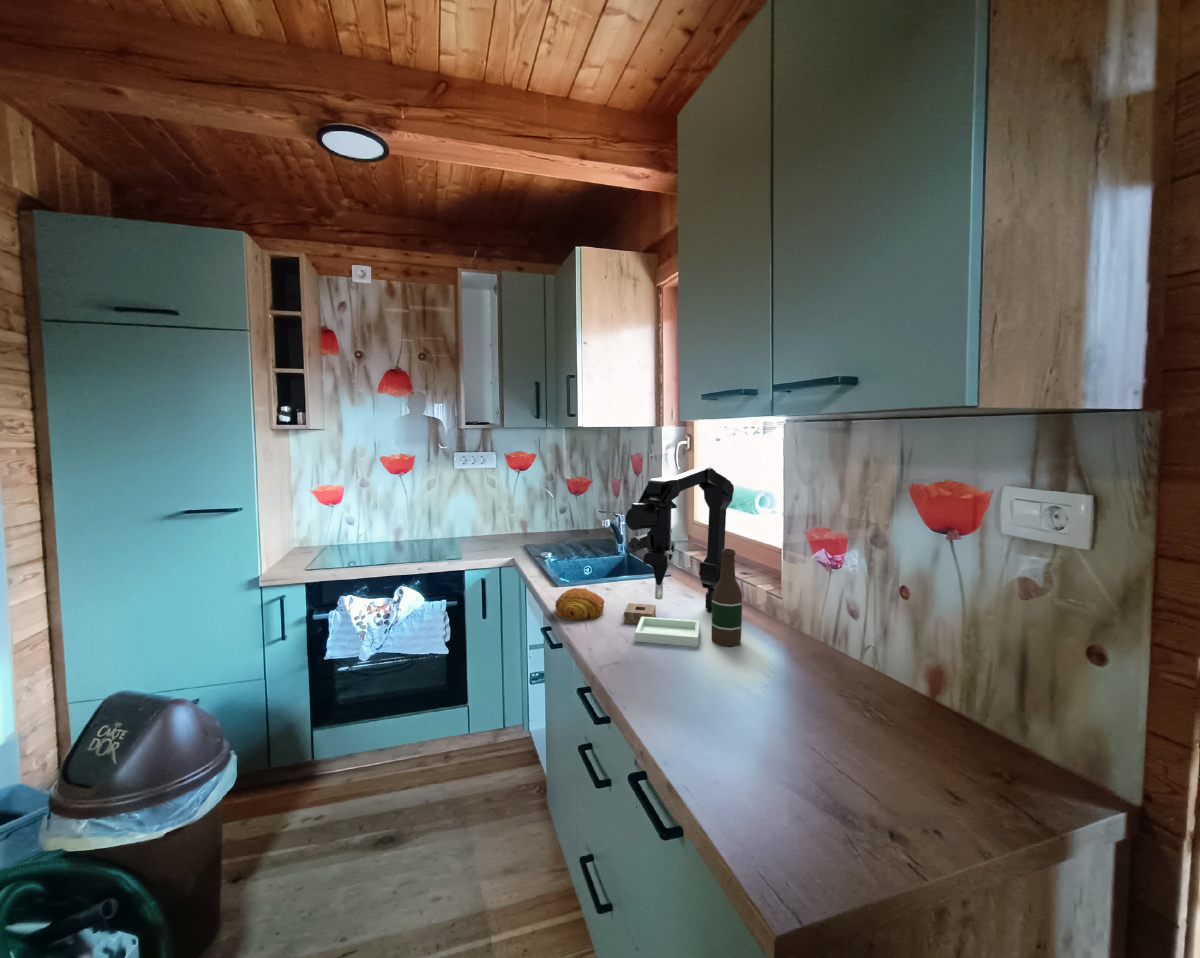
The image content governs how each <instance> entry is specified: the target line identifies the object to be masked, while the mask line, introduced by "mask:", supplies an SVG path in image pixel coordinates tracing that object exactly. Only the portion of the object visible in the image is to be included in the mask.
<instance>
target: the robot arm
mask: <svg viewBox="0 0 1200 958" xmlns="http://www.w3.org/2000/svg"><path fill="white" fill-rule="evenodd" d="M696 486H698V487H699V488H700V490H702V492H703V496H704V497H703V499H704V501H705V503H706V505H707V508H708V527H707V549H706V557H705V559H703V561H700V563H699V573H698V575H699V579H700V581H701V586H702V589H707V591H706V592H705V608H706V611H707V612H708V613H709V612H710V613H712V596H713V591H714V589H715V586H716V584H717V583H718V582H719V579H720V573H721V561H722V555H721V551H722V550H723V549H725V544H726V525H727V524H726V523H727V522H726V520H727V509H728V508H729V505H730V504H731V503H732V501H733V498H734V497H733V496H734V491H735V488H734V484H733V483H732V481H730V480H729V479H728V478H727V477H725V476H723V475H722V474H720V473H718V472H717V471H716V470H715V469H714V468H713V467H710V466H697V467H695V468H694V469H690V470H688V471H686V472H683V473H679V474H677V475H674V476H672V477H671V476H670V477H656V478H655V477H653V478H651V479H649V480H648V481H647V484H646V486H645V488H644V490H643V492H642V494H641V496H640V498H639V499H638V503H636V502H635V503H631V505H630V506H631V508H629V509H628V510H627V512H626V515H625V522H626V526H627V527H628V528H629V529H630V531H631V530H632V531H639V530H646V529H648V530H647V532H646V533H645V534H642V535H639V536H638V535H636V536H634V537H633V536H632V537H630V539H629V540H628V541H627V544H628V549H629V550H630V552H631V553H632V554H633V553H636V552H637V551H640V550H644V549H646V552H645V553H644V555H643V557H642V563H643V564H645V565H650V566H651V567H652V571H654V572H653V575H654V579H655V580H656V584H657V585H661V583H662V580H663V581H664V578H665V576H666V573H667V571H668V568H669V566H670V563H671V561H672V558H673V556H674V554H670V553H669V552H670V551H671V552H672V553H674V552H675V551H676V543H675V542H674V541H673V540H672V533H673V528H672V509H677V508H678V506H677V505H676V504H675V503H674V501H673V500H674V499H676V498H677V497H679V495H680V493H681V492H683V491H685V490H688V489H690V488H692V487H696Z"/></svg>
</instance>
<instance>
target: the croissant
mask: <svg viewBox="0 0 1200 958" xmlns="http://www.w3.org/2000/svg"><path fill="white" fill-rule="evenodd" d="M604 604H605V600H604V598H603V597H601V595H598V594H597V593H596V592H593V591H591V590H588V589H587V588H579V587H578V588H576V587H573V588H570V589H568V590H566V591H565V592H563V593H562V594H561V595H560V596H559V597H558V598H557V599H556V601H555V605H554V607H555V610H556V611H557V613H558V616H560V617H561V618H563V619H565V620H569V621H579V620H580V621H581V620H593V619H595V618H597V617H600V615H602V613H603V612H604V608H605V605H604Z"/></svg>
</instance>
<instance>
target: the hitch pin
mask: <svg viewBox="0 0 1200 958" xmlns="http://www.w3.org/2000/svg"><path fill="white" fill-rule="evenodd" d="M652 571H653V570H652ZM653 573H654V571H653ZM654 583H655V587H654V588H655V589H654V590H655V591H654V598H655V600H658V601H659V600H663V597H664V590H663V589H664V579H663V580H662V583H661V585H657V584H656V580H655V582H654Z"/></svg>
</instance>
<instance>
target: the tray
mask: <svg viewBox="0 0 1200 958" xmlns="http://www.w3.org/2000/svg"><path fill="white" fill-rule="evenodd" d="M700 622H701V621H700V620H693V619H691V620H690V619H681V618H678V619H676V618H667V617H666V618H665V617H655V618H654V617H641V619H640V621H639V623H637V627H636V629H635V631H634V642H637V643H648V644H649V643H650V644H660V645H661V644H662V645H673V646H684V647H685V646H686V647H697V648H698V647H699V641H700V640H699V638H700Z"/></svg>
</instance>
